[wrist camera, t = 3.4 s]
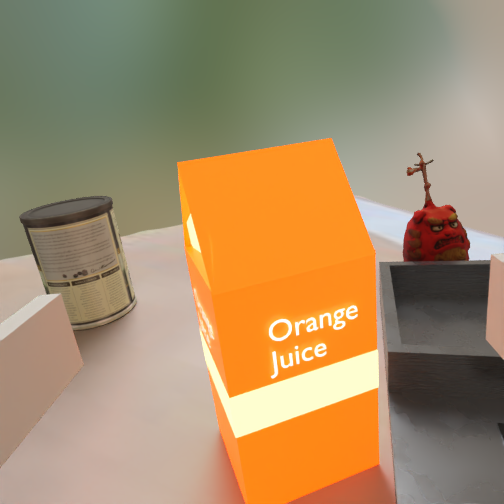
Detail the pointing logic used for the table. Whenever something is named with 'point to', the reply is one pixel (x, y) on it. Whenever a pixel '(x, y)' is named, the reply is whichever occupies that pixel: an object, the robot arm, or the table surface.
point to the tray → (442, 383)
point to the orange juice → (285, 315)
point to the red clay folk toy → (434, 230)
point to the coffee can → (81, 259)
